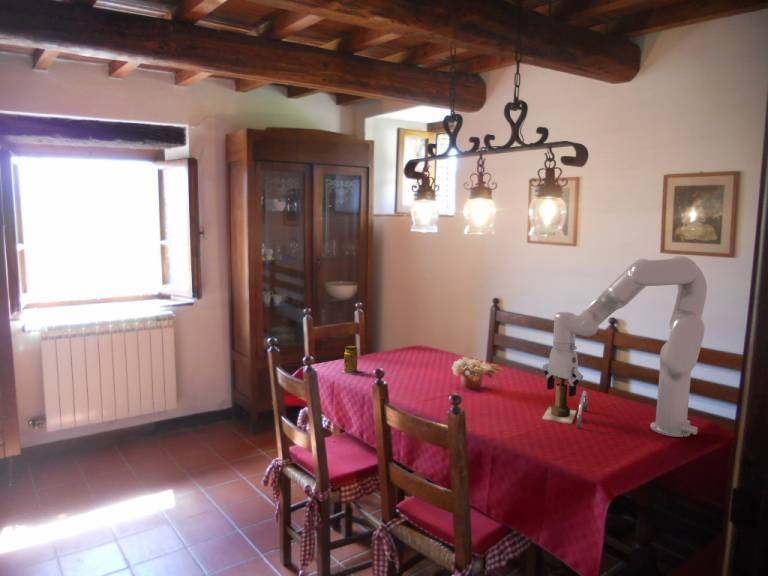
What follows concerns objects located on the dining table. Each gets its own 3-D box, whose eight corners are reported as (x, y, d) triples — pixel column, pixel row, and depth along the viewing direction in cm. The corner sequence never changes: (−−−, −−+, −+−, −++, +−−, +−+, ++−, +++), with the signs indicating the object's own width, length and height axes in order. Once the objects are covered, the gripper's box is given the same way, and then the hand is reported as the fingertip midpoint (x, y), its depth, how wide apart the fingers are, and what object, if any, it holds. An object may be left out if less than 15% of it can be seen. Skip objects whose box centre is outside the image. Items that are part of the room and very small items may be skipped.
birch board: (576, 412, 216) (576, 410, 216) (571, 423, 203) (571, 422, 203) (548, 408, 220) (548, 406, 220) (542, 419, 207) (542, 417, 207)
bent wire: (586, 410, 218) (588, 386, 217) (580, 429, 198) (582, 402, 197) (583, 410, 218) (584, 385, 217) (576, 428, 199) (577, 401, 198)
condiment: (340, 371, 266) (340, 346, 265) (354, 368, 272) (354, 343, 270) (350, 375, 261) (350, 349, 259) (364, 372, 267) (364, 346, 265)
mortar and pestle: (547, 413, 211) (550, 366, 209) (556, 410, 216) (558, 363, 214) (564, 418, 207) (567, 369, 205) (572, 414, 211) (575, 366, 209)
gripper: (590, 350, 203) (587, 397, 206) (551, 341, 218) (549, 385, 220) (576, 352, 199) (573, 400, 201) (538, 343, 214) (535, 388, 216)
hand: (561, 392), depth 211 cm, fingers open, 9 cm apart
